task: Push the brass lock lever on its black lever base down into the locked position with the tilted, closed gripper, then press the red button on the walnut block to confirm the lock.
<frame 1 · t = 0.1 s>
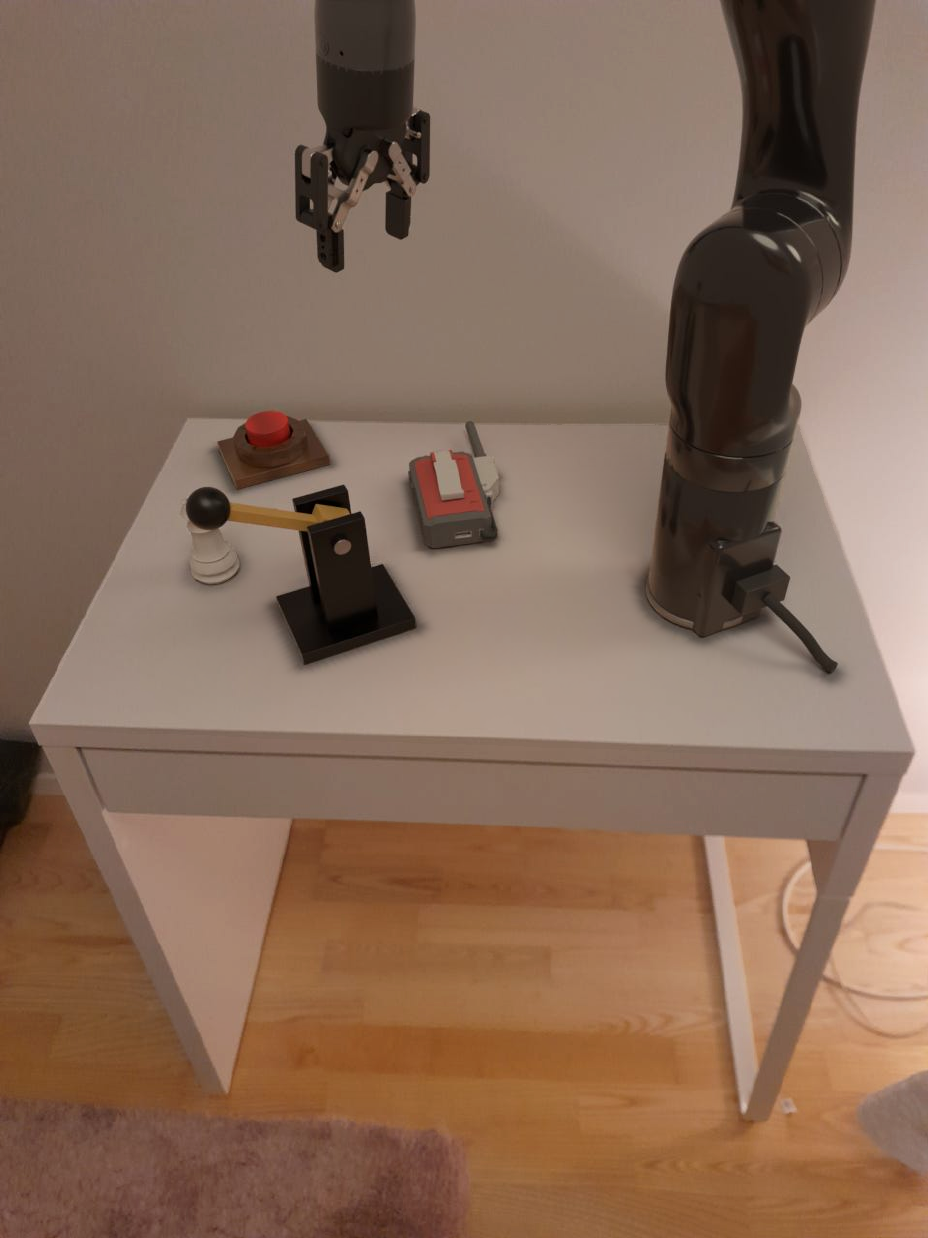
hand: (365, 251, 83), 22 cm above the table, tool pointing down, fingers open, 8 cm apart
rook chess piece: (216, 572, 87), on the table
walkie-talkie: (454, 492, 95), on the table
confirm block: (273, 457, 100), on the table
confirm button: (268, 429, 98), point 3 cm above the table, slide at 0.1 cm
black lever base: (346, 617, 82), on the table
lock lever: (270, 517, 72), point 12 cm above the table, hinge at 28.0°
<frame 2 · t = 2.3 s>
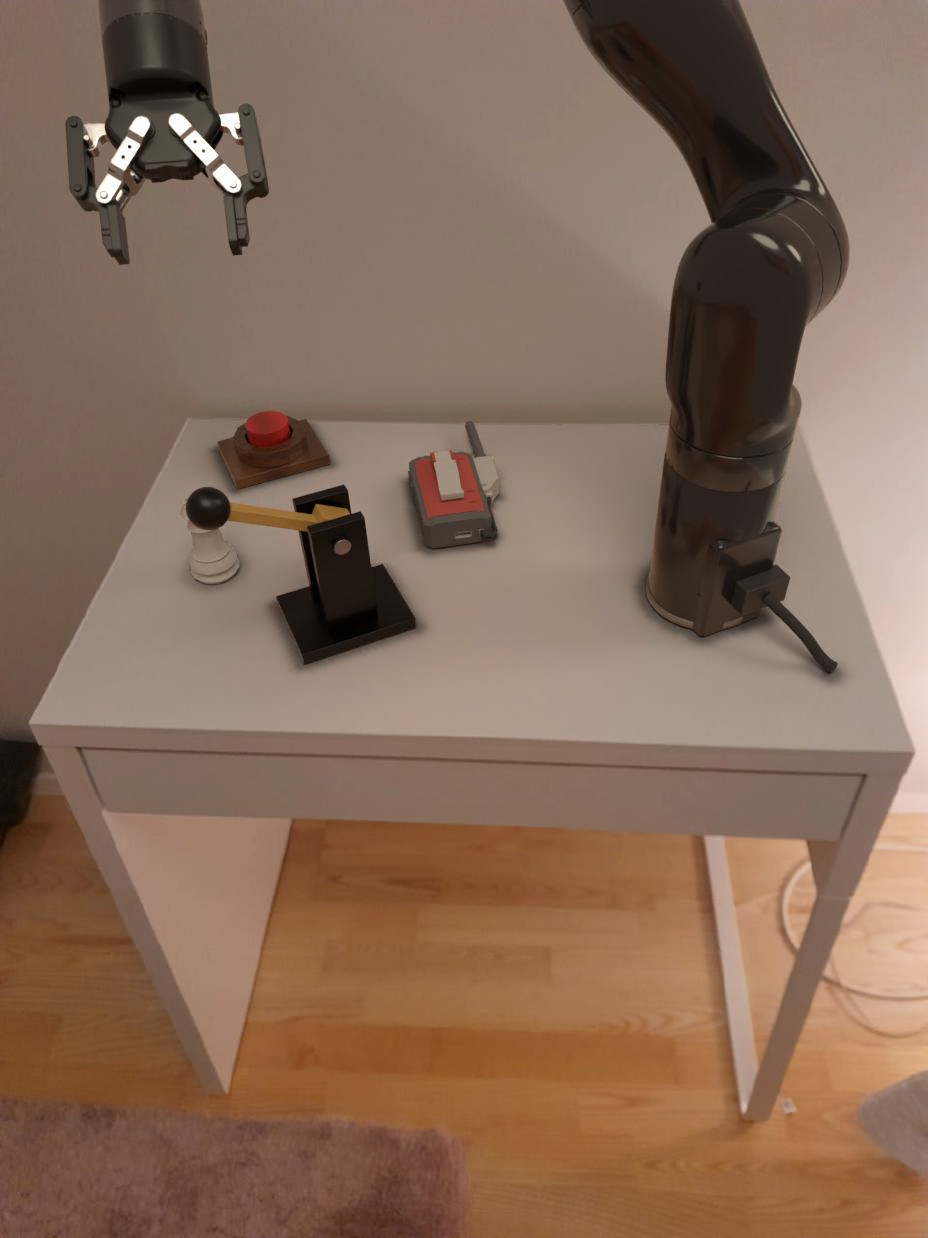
hand: (179, 255, 70), 28 cm above the table, tool tilted 45°, fingers open, 8 cm apart
nothing on the table moved.
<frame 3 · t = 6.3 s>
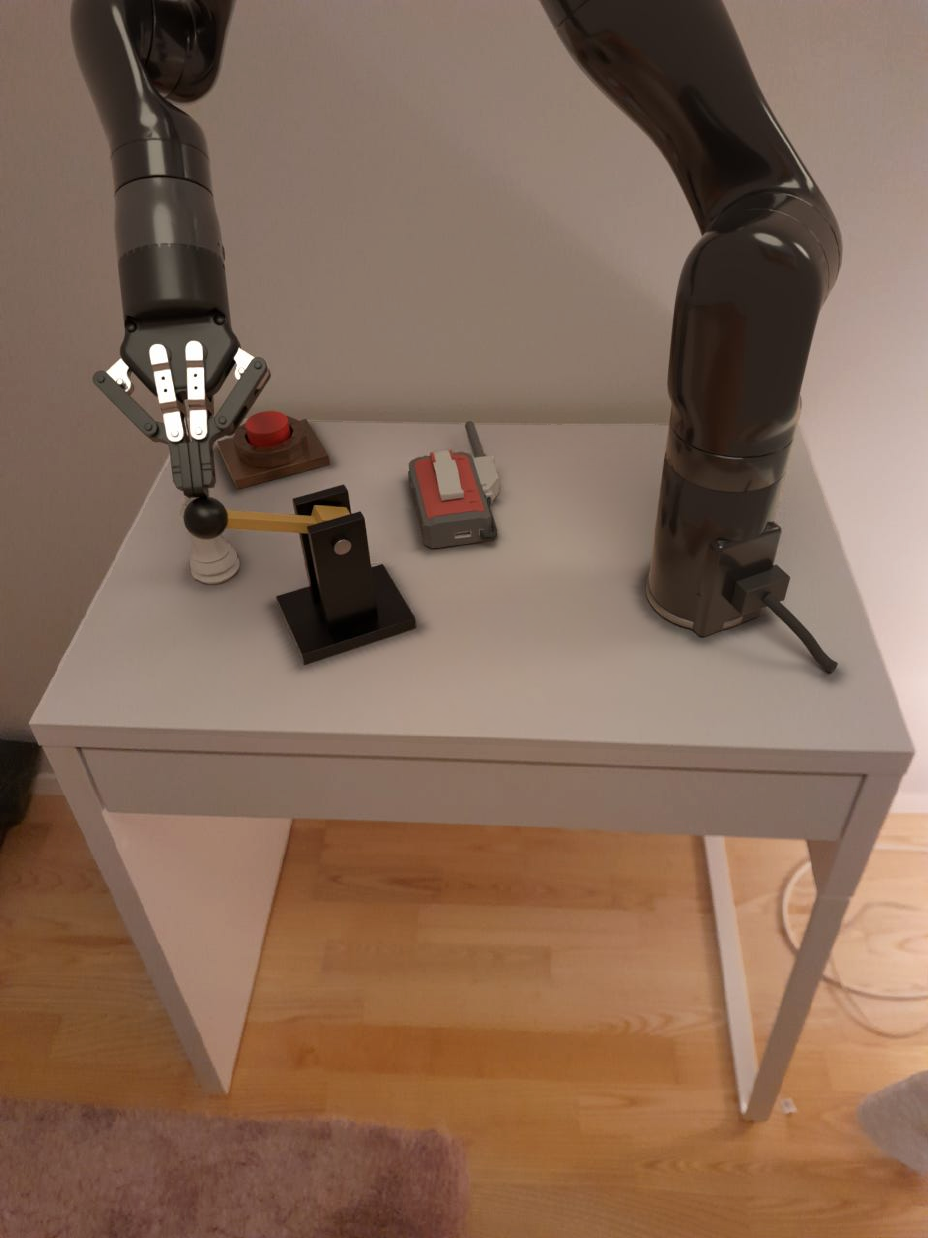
hand: (196, 495, 68), 16 cm above the table, tool tilted 45°, fingers closed
lock lever: (269, 522, 72), point 12 cm above the table, hinge at 23.2°, touching gripper
everything else where it was.
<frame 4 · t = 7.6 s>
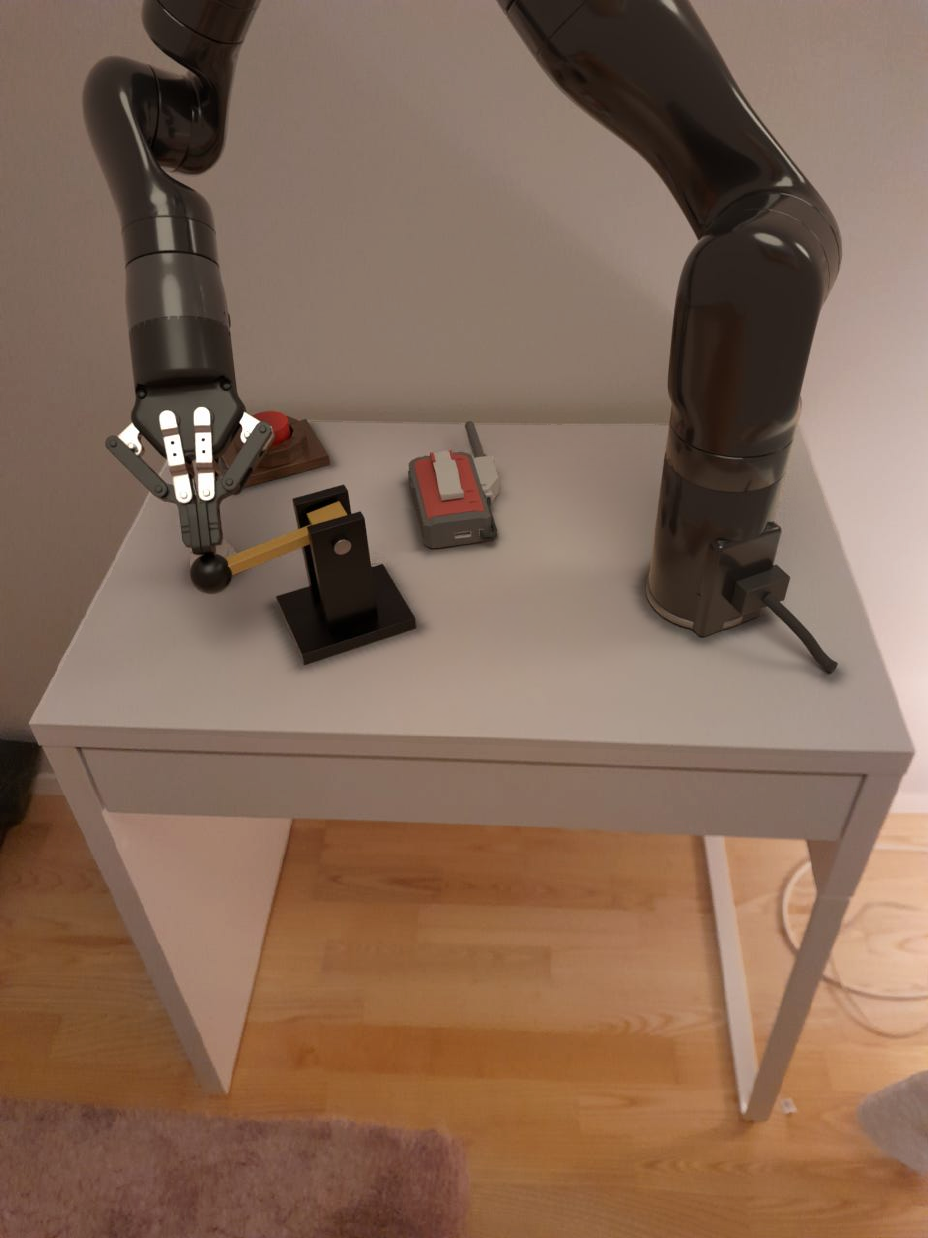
hand: (204, 553, 72), 11 cm above the table, tool tilted 45°, fingers closed
lock lever: (270, 550, 74), point 9 cm above the table, hinge at -7.0°
everything else where it was.
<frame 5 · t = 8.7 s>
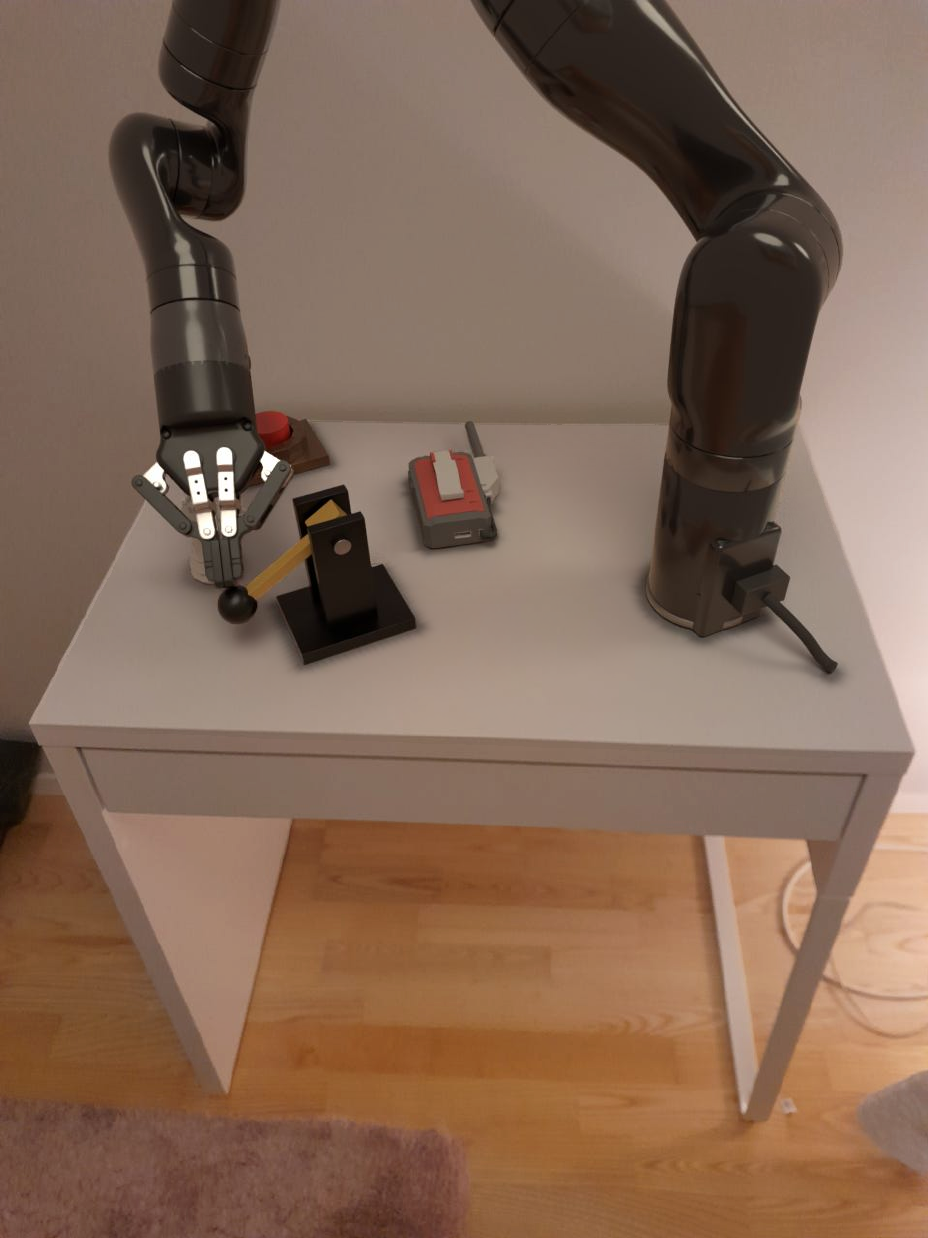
hand: (227, 587, 75), 7 cm above the table, tool tilted 45°, fingers closed
lock lever: (282, 566, 75), point 7 cm above the table, hinge at -30.3°, touching gripper
everything else where it was.
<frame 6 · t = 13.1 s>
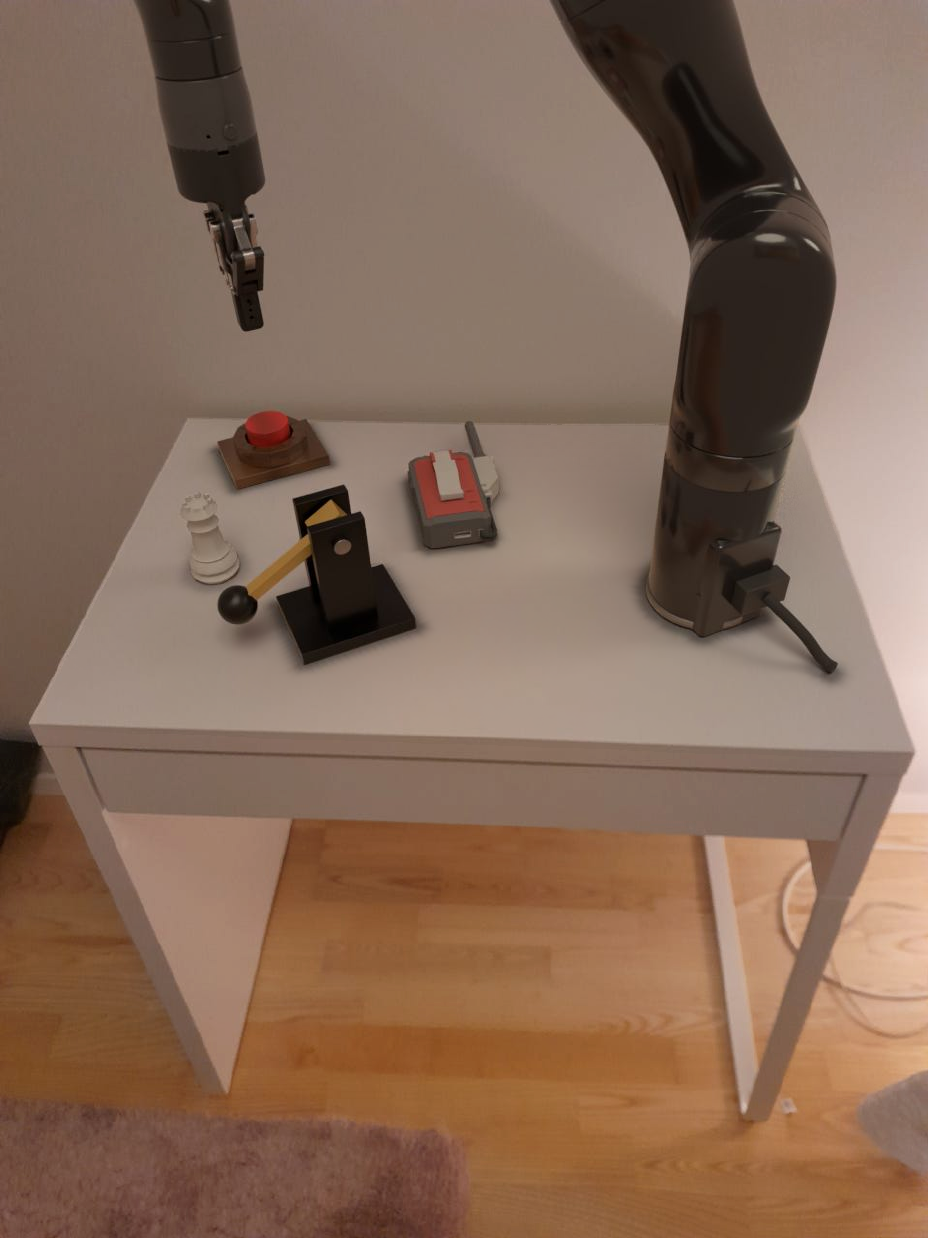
hand: (251, 326, 90), 15 cm above the table, tool pointing down, fingers closed
lock lever: (283, 566, 75), point 7 cm above the table, hinge at -30.4°
everything else where it was.
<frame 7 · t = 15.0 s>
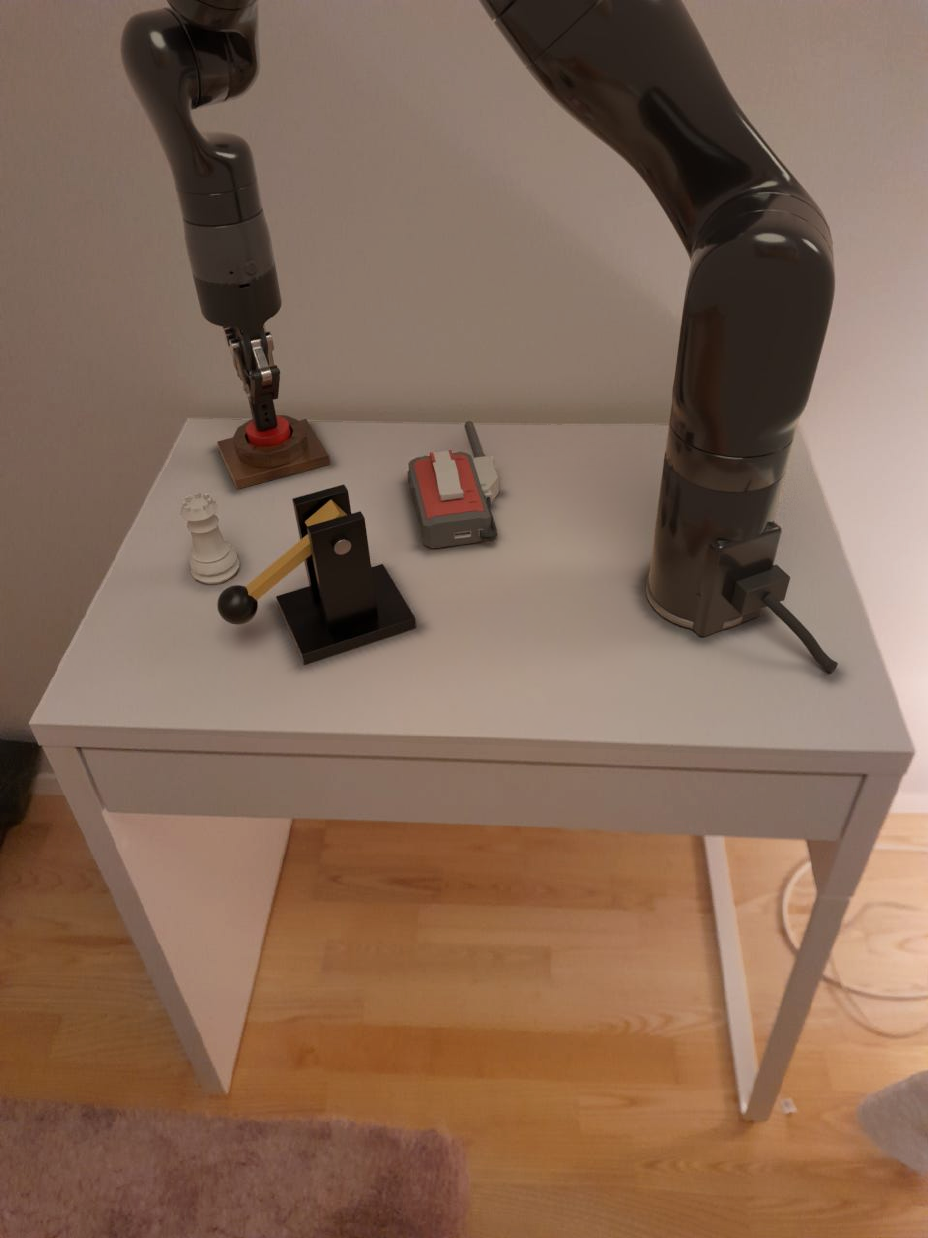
hand: (266, 426, 98), 4 cm above the table, tool pointing down, fingers closed
confirm button: (268, 433, 98), point 3 cm above the table, slide at -0.4 cm, touching gripper
everything else where it was.
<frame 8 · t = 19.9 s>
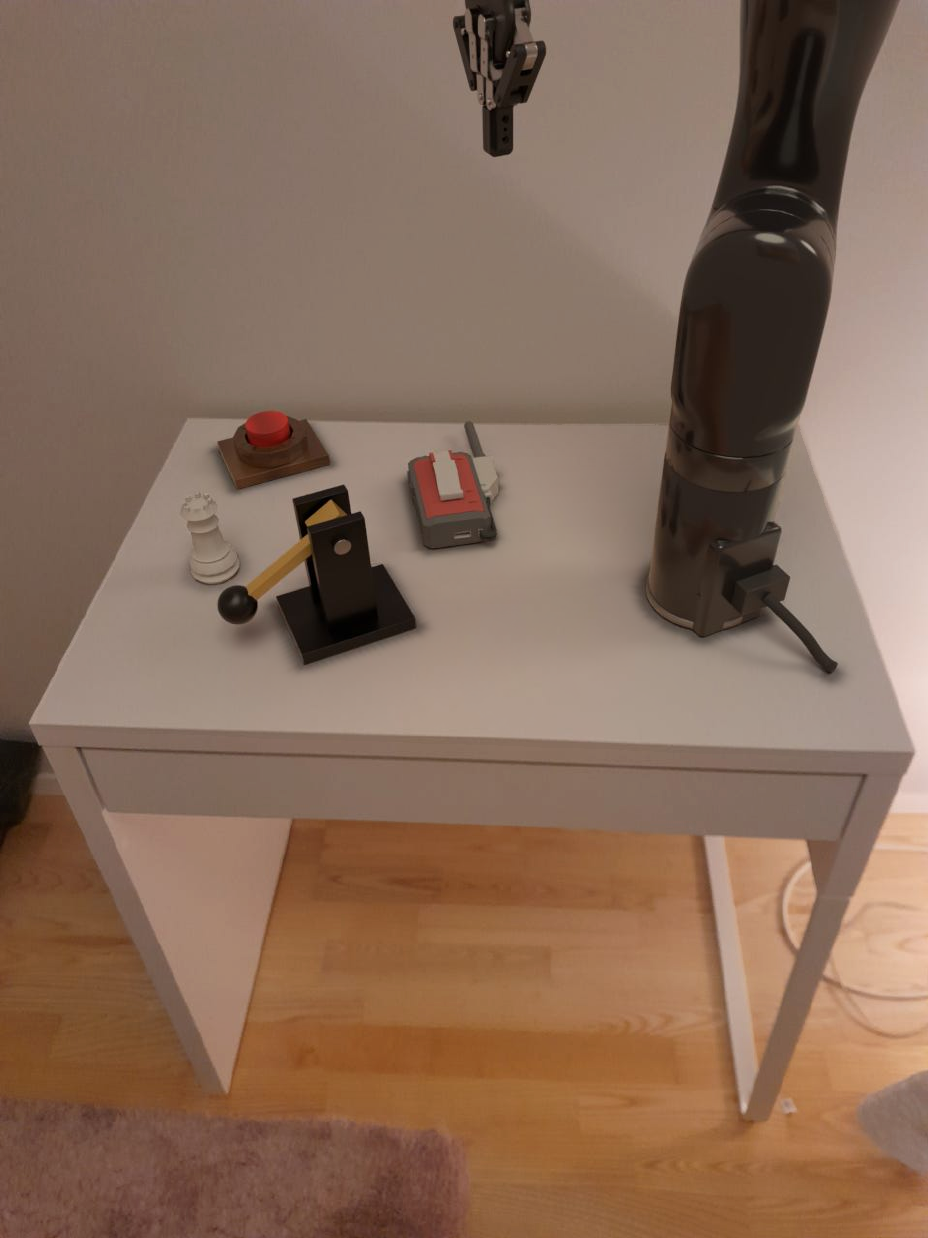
hand: (498, 153, 81), 29 cm above the table, tool pointing down, fingers closed
confirm button: (268, 429, 98), point 4 cm above the table, slide at 0.1 cm
everything else where it was.
at the end: lock lever at -30° (first picture: +28°); confirm button pushed in 1.1 cm at the most during the clip, back to where it started at the end; confirm button slide at 0.1 cm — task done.
